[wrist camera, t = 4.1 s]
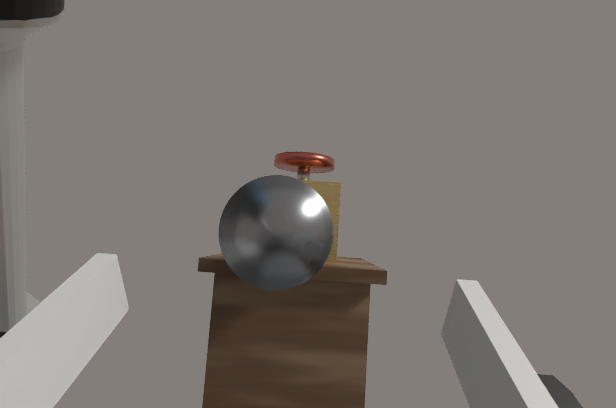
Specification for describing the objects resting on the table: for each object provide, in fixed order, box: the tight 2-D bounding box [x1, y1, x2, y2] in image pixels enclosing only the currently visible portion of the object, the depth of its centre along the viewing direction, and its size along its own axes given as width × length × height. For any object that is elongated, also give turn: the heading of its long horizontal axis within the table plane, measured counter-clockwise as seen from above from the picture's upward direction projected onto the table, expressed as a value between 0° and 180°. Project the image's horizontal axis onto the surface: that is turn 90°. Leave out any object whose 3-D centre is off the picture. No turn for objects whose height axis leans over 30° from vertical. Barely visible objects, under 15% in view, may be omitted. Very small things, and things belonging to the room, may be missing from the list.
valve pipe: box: [219, 152, 341, 291], centre depth 25 cm, size 24×7×10 cm, turn 179°
